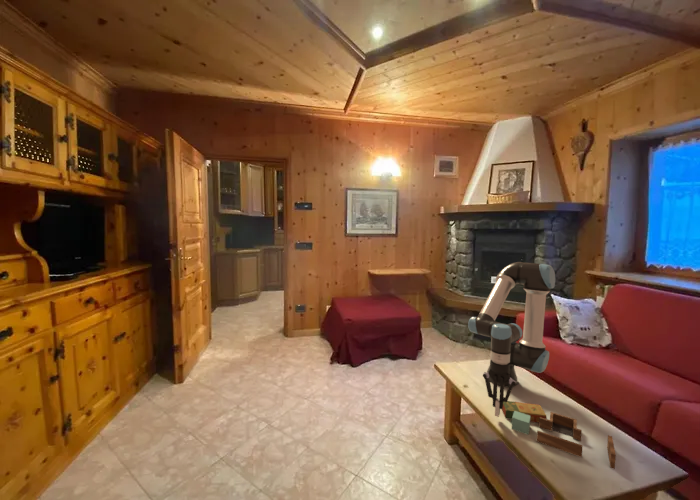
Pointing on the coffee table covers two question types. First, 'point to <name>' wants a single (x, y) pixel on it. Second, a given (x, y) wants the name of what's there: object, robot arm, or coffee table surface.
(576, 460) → the coffee table surface
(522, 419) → the block
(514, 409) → the carton
